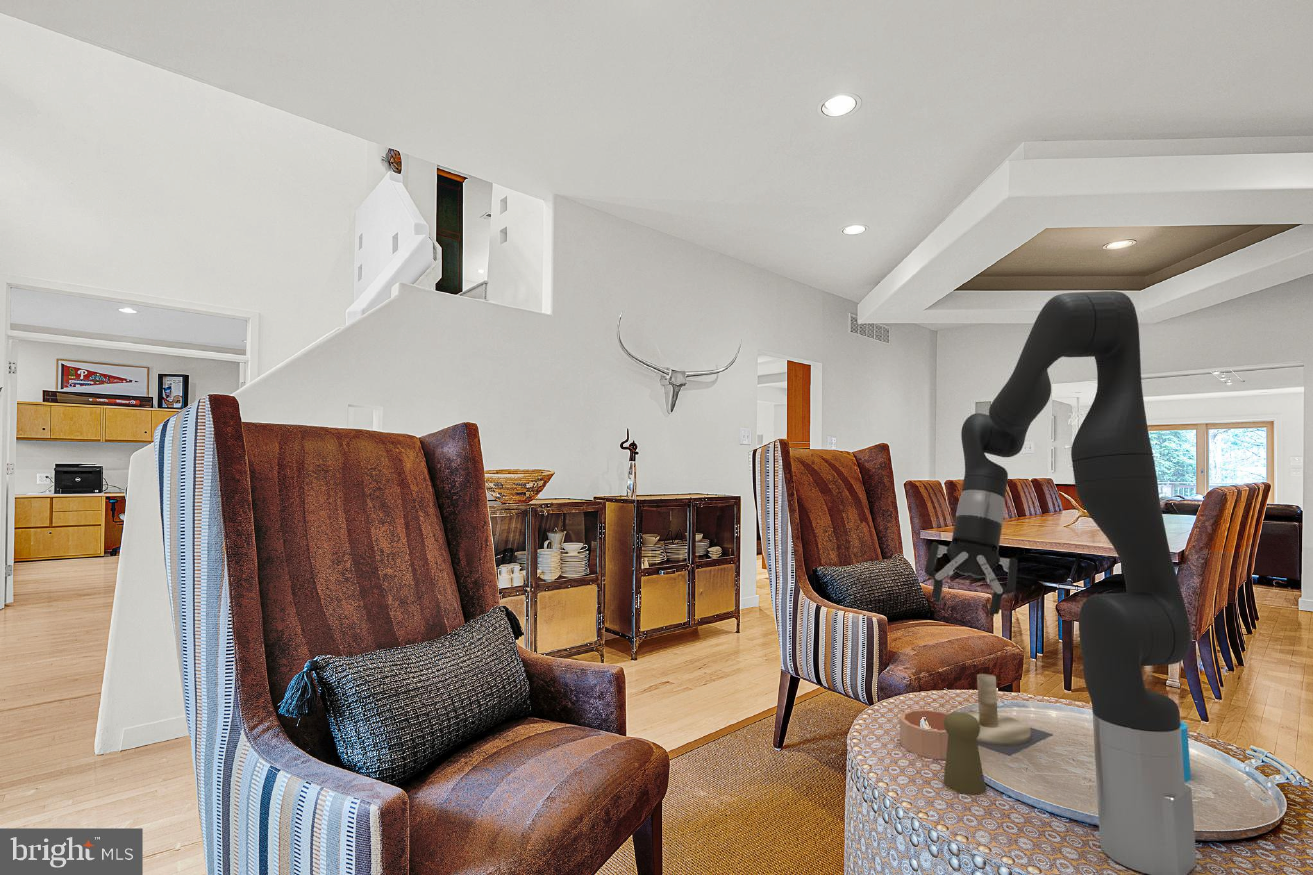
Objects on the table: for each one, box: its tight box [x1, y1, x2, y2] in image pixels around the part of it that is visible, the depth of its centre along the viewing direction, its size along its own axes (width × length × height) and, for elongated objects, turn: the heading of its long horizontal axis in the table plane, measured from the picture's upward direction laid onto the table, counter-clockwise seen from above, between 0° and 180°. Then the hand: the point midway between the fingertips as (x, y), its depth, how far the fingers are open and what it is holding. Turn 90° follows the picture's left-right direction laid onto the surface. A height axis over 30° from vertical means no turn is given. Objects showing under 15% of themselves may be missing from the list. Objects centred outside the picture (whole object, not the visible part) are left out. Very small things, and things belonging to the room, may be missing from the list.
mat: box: [967, 709, 1054, 757], centre depth 123 cm, size 16×16×1 cm
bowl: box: [899, 708, 950, 761], centre depth 116 cm, size 11×11×5 cm
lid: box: [961, 673, 1031, 746], centre depth 123 cm, size 14×14×10 cm
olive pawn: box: [943, 711, 987, 795], centre depth 102 cm, size 6×6×11 cm
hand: (964, 609), depth 111 cm, fingers open, 8 cm apart
